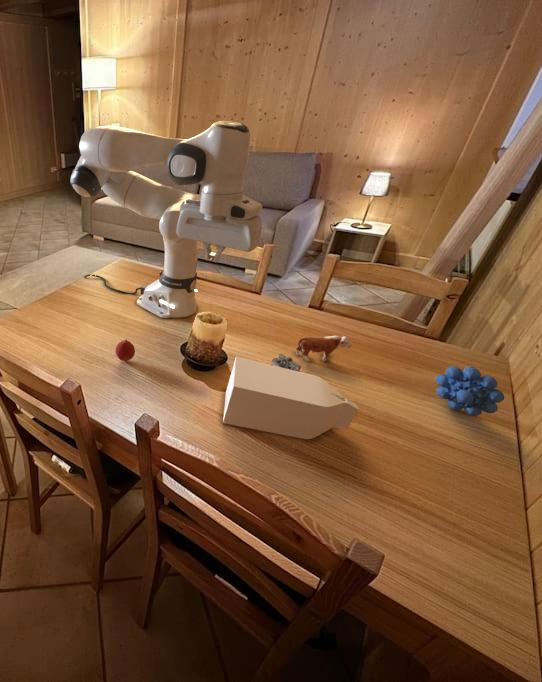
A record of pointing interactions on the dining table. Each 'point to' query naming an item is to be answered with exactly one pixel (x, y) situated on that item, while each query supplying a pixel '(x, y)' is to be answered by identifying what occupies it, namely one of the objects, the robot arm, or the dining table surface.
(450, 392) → the grapes
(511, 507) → the dining table surface
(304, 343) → the bull figurine
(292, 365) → the red grey filled tin
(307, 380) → the milk
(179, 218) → the robot arm
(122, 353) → the onion
